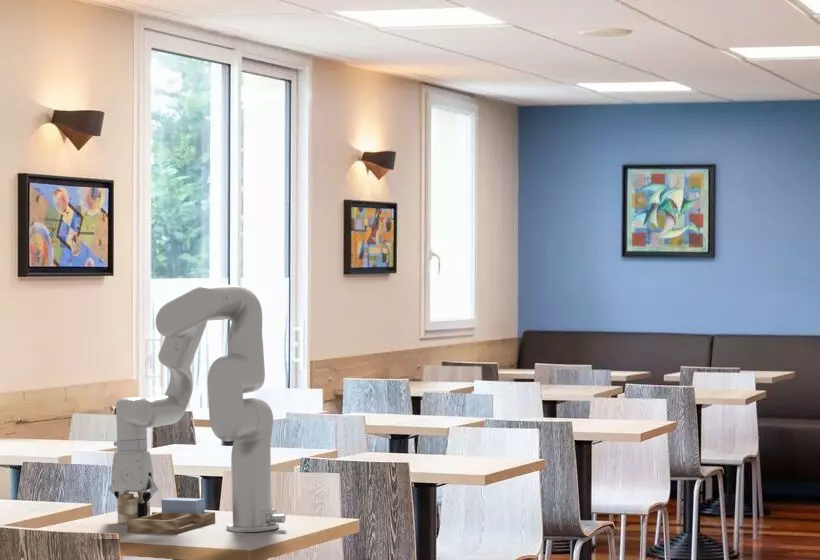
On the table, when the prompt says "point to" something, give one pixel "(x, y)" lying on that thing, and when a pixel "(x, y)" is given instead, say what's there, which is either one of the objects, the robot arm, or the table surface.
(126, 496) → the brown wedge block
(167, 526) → the tray
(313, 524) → the table surface
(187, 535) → the table surface
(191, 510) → the bar
